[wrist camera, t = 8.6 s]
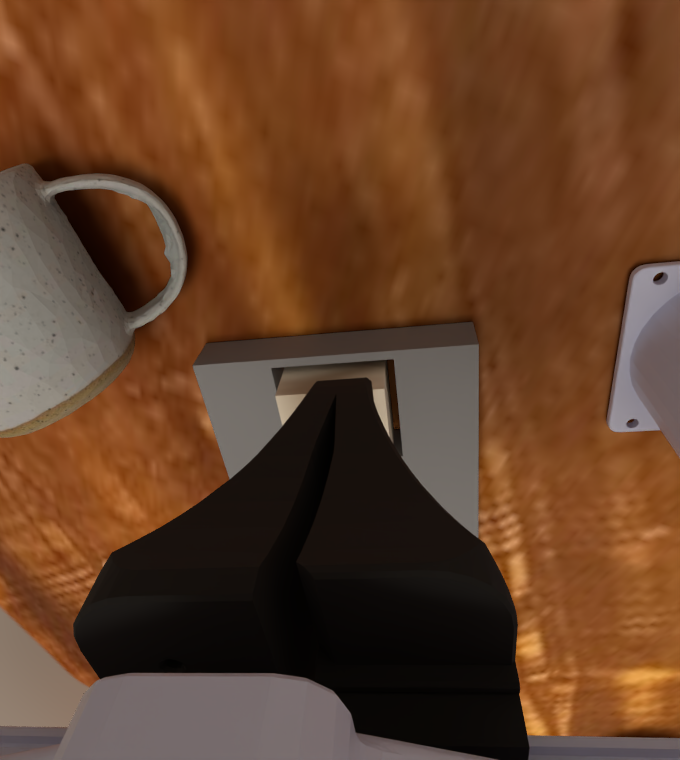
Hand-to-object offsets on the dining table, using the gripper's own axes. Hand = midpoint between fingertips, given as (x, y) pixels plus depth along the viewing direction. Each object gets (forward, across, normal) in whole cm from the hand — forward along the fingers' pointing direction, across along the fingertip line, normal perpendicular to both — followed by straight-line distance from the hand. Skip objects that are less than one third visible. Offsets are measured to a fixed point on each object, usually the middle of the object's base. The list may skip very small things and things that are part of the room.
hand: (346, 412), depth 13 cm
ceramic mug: (+11, +12, -2) cm, 17 cm away
